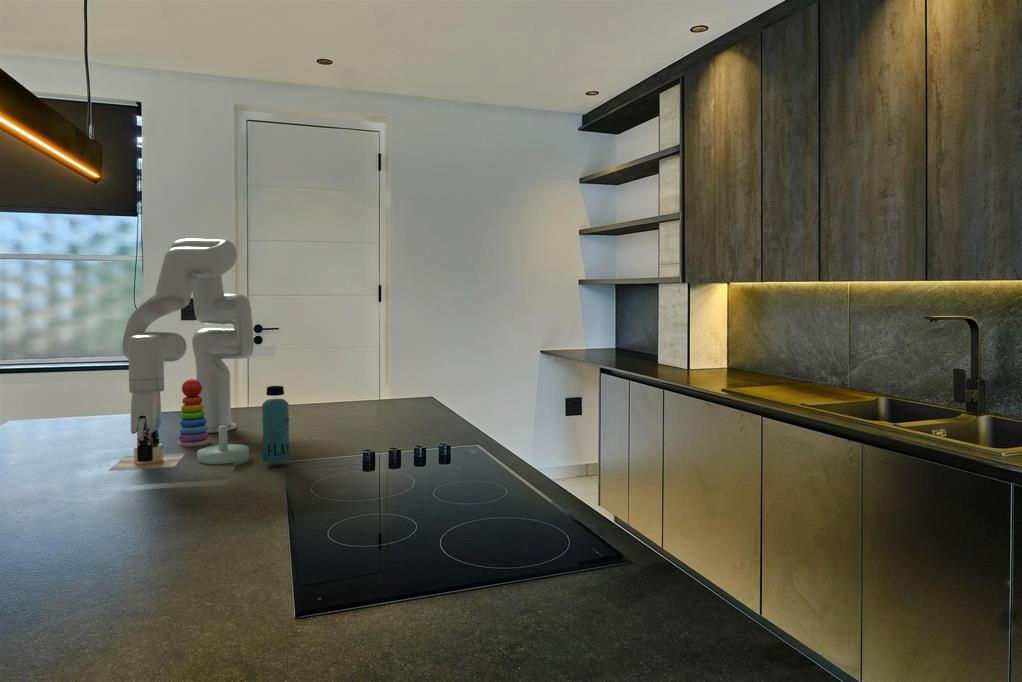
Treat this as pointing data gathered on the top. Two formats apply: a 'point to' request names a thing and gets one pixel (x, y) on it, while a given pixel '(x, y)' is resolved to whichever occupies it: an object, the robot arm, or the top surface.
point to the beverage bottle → (275, 427)
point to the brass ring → (156, 454)
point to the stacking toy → (192, 416)
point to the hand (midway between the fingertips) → (148, 457)
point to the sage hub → (223, 451)
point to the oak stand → (129, 464)
